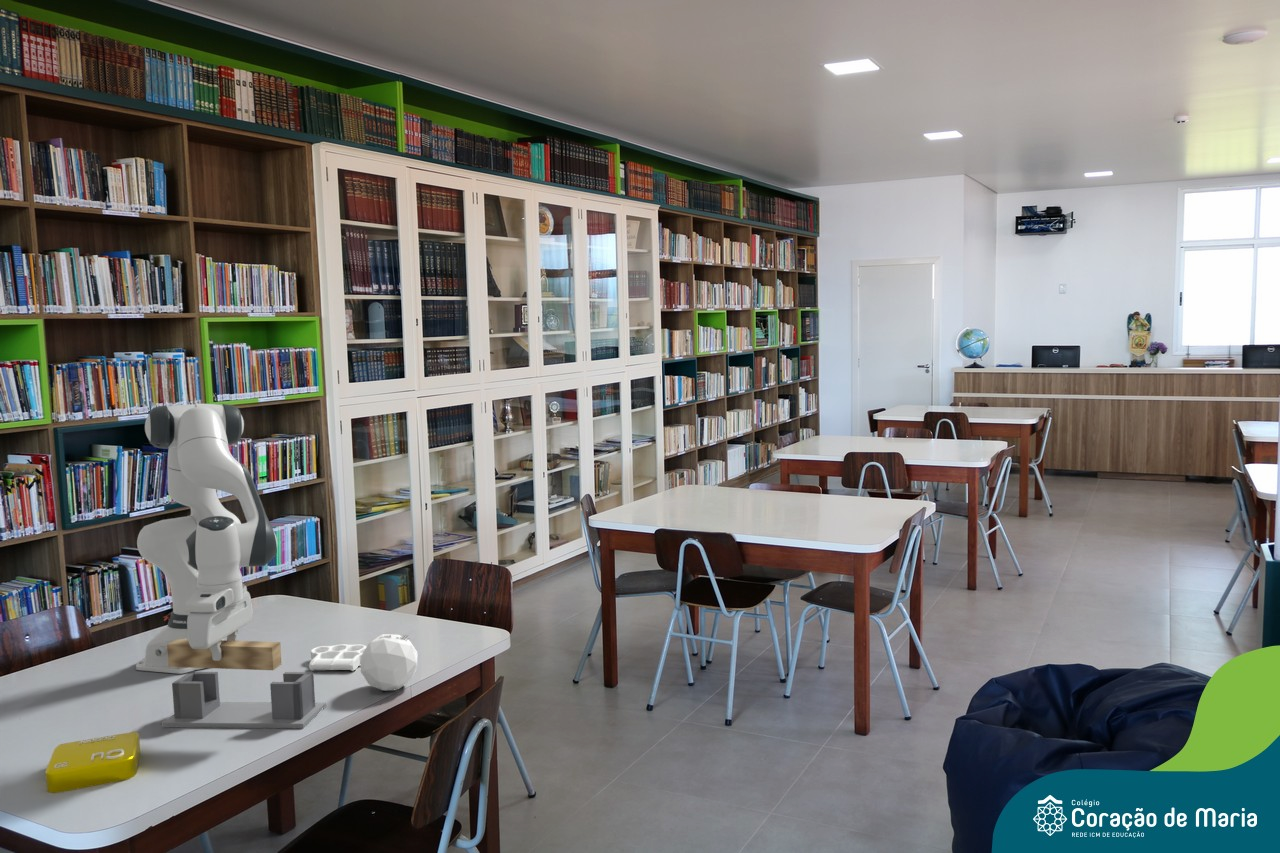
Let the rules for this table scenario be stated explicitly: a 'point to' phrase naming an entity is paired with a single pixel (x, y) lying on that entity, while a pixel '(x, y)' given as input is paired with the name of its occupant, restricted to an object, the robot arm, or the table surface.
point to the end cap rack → (243, 704)
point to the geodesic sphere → (389, 662)
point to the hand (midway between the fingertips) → (224, 655)
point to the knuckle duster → (336, 657)
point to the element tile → (93, 762)
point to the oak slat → (226, 655)
